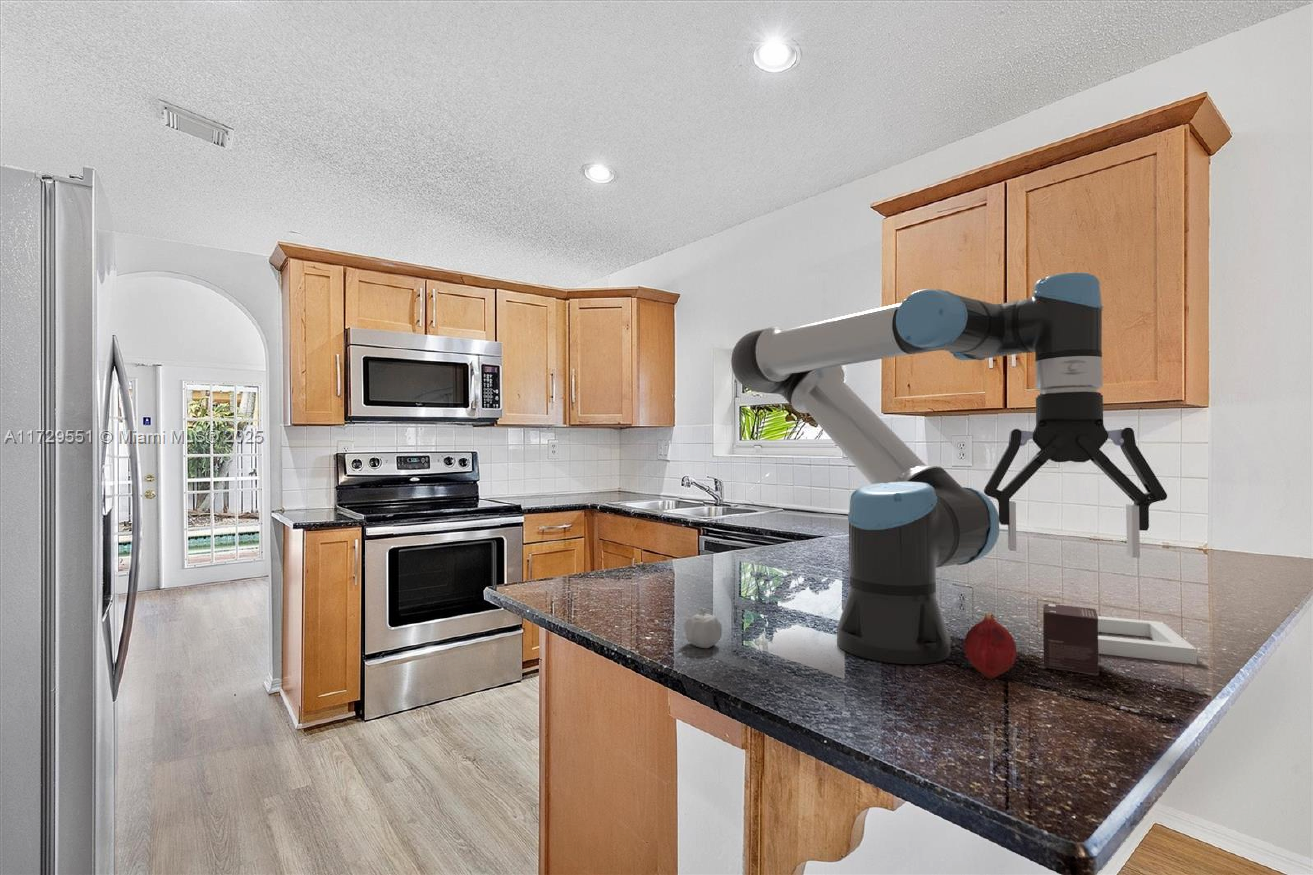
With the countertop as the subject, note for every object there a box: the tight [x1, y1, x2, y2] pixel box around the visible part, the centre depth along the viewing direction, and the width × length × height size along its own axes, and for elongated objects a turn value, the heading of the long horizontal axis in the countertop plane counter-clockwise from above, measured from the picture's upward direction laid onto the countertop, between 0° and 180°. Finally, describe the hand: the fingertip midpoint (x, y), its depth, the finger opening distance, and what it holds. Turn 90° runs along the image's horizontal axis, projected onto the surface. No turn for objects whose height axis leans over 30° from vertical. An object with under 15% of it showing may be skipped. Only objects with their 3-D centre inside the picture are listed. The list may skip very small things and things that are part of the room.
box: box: [1042, 603, 1100, 676], centre depth 85 cm, size 6×6×7 cm
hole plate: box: [1097, 615, 1198, 665], centre depth 95 cm, size 15×15×2 cm
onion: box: [963, 612, 1018, 680], centre depth 80 cm, size 6×6×8 cm
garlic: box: [683, 607, 723, 649], centre depth 93 cm, size 6×5×5 cm
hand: (1070, 553), depth 85 cm, fingers open, 13 cm apart
